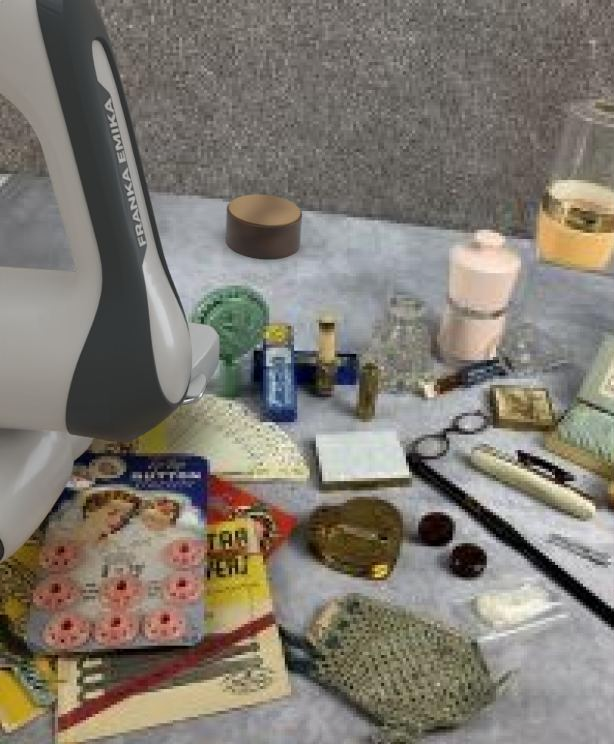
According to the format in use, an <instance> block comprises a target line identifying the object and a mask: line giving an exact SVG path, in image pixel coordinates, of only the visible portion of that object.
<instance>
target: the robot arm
mask: <svg viewBox="0 0 614 744" xmlns="http://www.w3.org/2000/svg"><path fill="white" fill-rule="evenodd" d="M119 69H120V68H119V66H118V62H117V59H116V56H115V53H114V48H113V45H112V42H111V39H110V35H109V33H108V30H107V27H106V25H105V22H104V19H103V16H102V14H101V12H100V10H99V8H98V5H97V3H96V2H95V0H0V94H1V95H2V96H3V97H5V99H7V100H8V101H9V102H10V103H11V104H12V105H14V107H16V109H17V110H18V111H19V112H20V113H21V114H22V115H23V117H24V119H26V121H27V122H28V123H29V125H30V126H31V128H32V129H33V131H34V133H35V135H36V137H37V139H38V141H39V144H40V146H41V149H42V153H43V157H44V159H45V163H46V167H47V171H48V174H49V178H50V181H51V185H52V189H53V193H54V196H55V200H56V204H57V208H58V210H59V214H60V218H61V222H62V225H63V229H64V232H65V236H66V240H67V244H68V247H69V251H70V254H71V258H72V262H73V265H74V270H61V269H49V268H48V269H47V268H32V267H31V268H29V267H18V266H17V267H15V266H3V265H2V266H0V564H2V563H3V562H6V560H8V559H9V558H11V557H12V556H13V555H14V554H15V553H17V552H18V551H19V550H20V549H21V548H22V547H23V546H24V544H25V543H26V542H27V541H28V540H29V539H30V538H31V537H32V536H33V534H34V533H35V532H36V531H37V529H38V528H39V527H40V525H41V524H42V523H43V521H44V520H45V519H46V517H47V515H48V514H49V513H50V512H51V510H52V508H53V507H54V506H55V504H56V502H57V501H58V499H59V498H60V496H61V495H62V493H63V492H64V490H65V488H66V487H67V484H68V483H69V481H70V479H71V476H72V473H73V469H74V462H75V461H77V459H78V458H80V457H81V456H82V455H83V454H84V453H85V452H87V450H88V448H89V447H90V446H91V444H92V443H93V441H94V439H96V440H104V441H111V442H118V443H122V444H123V443H125V444H126V443H130V442H132V441H134V440H136V439H138V438H139V437H141V436H143V435H146V434H147V433H148V432H149V431H152V430H153V429H155V428H156V427H157V426H159V425H160V424H162V423H163V422H164V421H165V420H167V419H168V418H169V417H170V416H171V415H173V413H174V412H176V411H177V410H178V409H179V408H180V407H184V406H188V405H196V404H197V403H199V402H200V401H201V400H202V398H203V396H204V394H205V392H206V389H207V388H208V383H209V382H210V381H211V379H212V378H213V376H214V374H215V372H216V371H217V368H218V367H219V362H220V349H221V348H220V347H221V344H220V342H221V341H220V334H218V332H217V330H215V328H214V327H213V326H211V325H209V324H205V323H198V322H192V321H191V322H190V321H188V319H187V316H186V312H185V309H184V306H183V303H182V300H181V298H180V296H179V292H178V290H177V288H176V285H175V283H174V279H173V276H172V274H171V272H170V269H169V266H168V263H167V260H166V257H165V253H164V248H163V245H162V242H161V237H160V233H159V229H158V224H157V220H156V216H155V212H154V207H153V203H152V200H151V195H150V191H149V186H148V183H147V178H146V175H145V169H144V165H143V162H142V158H141V157H142V156H141V153H140V149H139V145H138V141H137V137H136V132H135V128H134V124H133V120H132V115H131V112H130V108H129V104H128V100H127V96H126V93H125V89H124V88H125V87H124V85H123V80H122V78H121V74H120V70H119Z"/></svg>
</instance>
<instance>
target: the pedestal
mask: <svg viewBox="0 0 614 744" xmlns="http://www.w3.org/2000/svg"><path fill="white" fill-rule="evenodd" d="M225 220H226V222H225V223H226V224H225V243H226V244H227V246H228V247H229V248H230V250H232V251H234V252H236V253H238V254H239V255H243V256H246V257H250V258H254V259H262V260H276V259H283V258H287V257H290V256H292V255H294V254H296V253H297V252H298V250H299V249H300V247H301V237H302V235H301V234H302V225H303V224H302V223H303V212H302V210H301V208H300V207H299V206H298V205H297V204H295V203H294V202H292V201H290V200H289V199H286V198H283V197H280V196H276V195H270V194H246V195H241V196H239V197H236V198H234V199H233V200H231V201H230V202H229V203H228V204H227V206H226V219H225Z"/></svg>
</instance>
